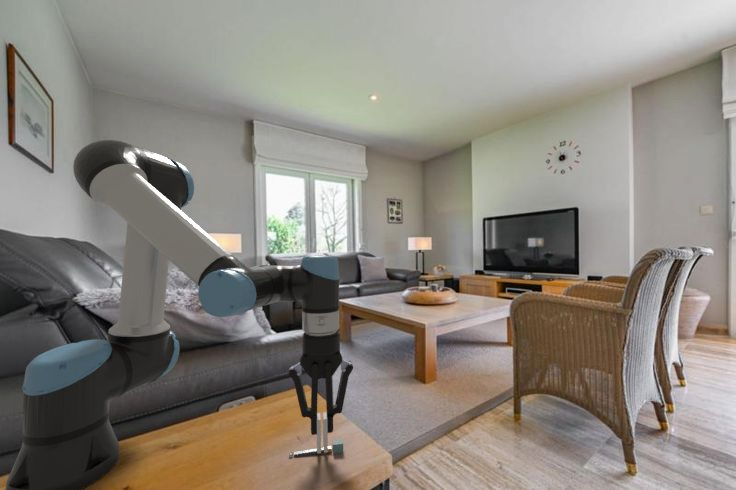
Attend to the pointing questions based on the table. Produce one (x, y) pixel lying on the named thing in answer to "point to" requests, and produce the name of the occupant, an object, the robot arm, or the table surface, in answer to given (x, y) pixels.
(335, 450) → the teal matte cube
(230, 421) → the table surface
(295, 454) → the bar
